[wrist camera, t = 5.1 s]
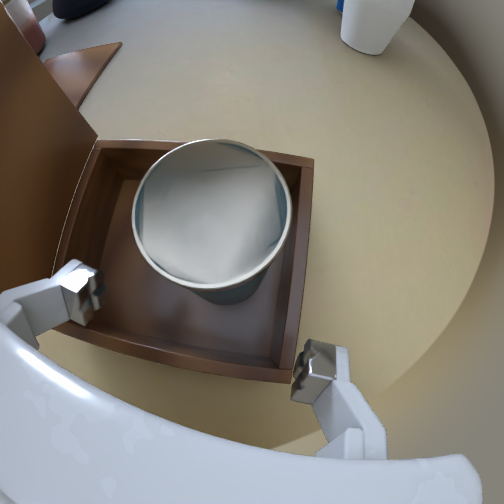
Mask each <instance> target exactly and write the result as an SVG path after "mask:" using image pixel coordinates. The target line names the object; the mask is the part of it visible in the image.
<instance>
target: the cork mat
mask: <svg viewBox="0 0 504 504" xmlns="http://www.w3.org/2000/svg"><path fill="white" fill-rule="evenodd" d="M121 45H122V42H117V43H111V44H106V45H101V46H96V47H91V48H87V49H83V50H79V51H75V52H71V53H67V54H64V55H60V56H57V57H54V58H50V59H47V60H46V61H45V62H44V66H45V67H46V69H47V70H48V71H49V73H50V74H51V75H52V77H53V78H54V79H55V81H56V82H57V84H58V85H59V86H60V88H61V89H62V90H63V91H64V93H65V94H66V95H67V97H68V98H69V99H70V101H71V102H72V103H73V105H74V106H75V107H76V108H77V110H78V108H79V107H80V105H81V103H82V102H83V100H84V98H85V97H86V95H87V94H88V92H89V90H90V89H91V87H92V86H93V84H94V83H95V81H96V80H97V78H98V77H99V75H100V74H101V72H102V71H103V69H104V68H105V67H106V65H107V64H108V62H109V61H110V60H111V58H112V57H113V56H114V54H115V53H116V52H117V51H118V49H119V48H120V47H121Z"/></svg>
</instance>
